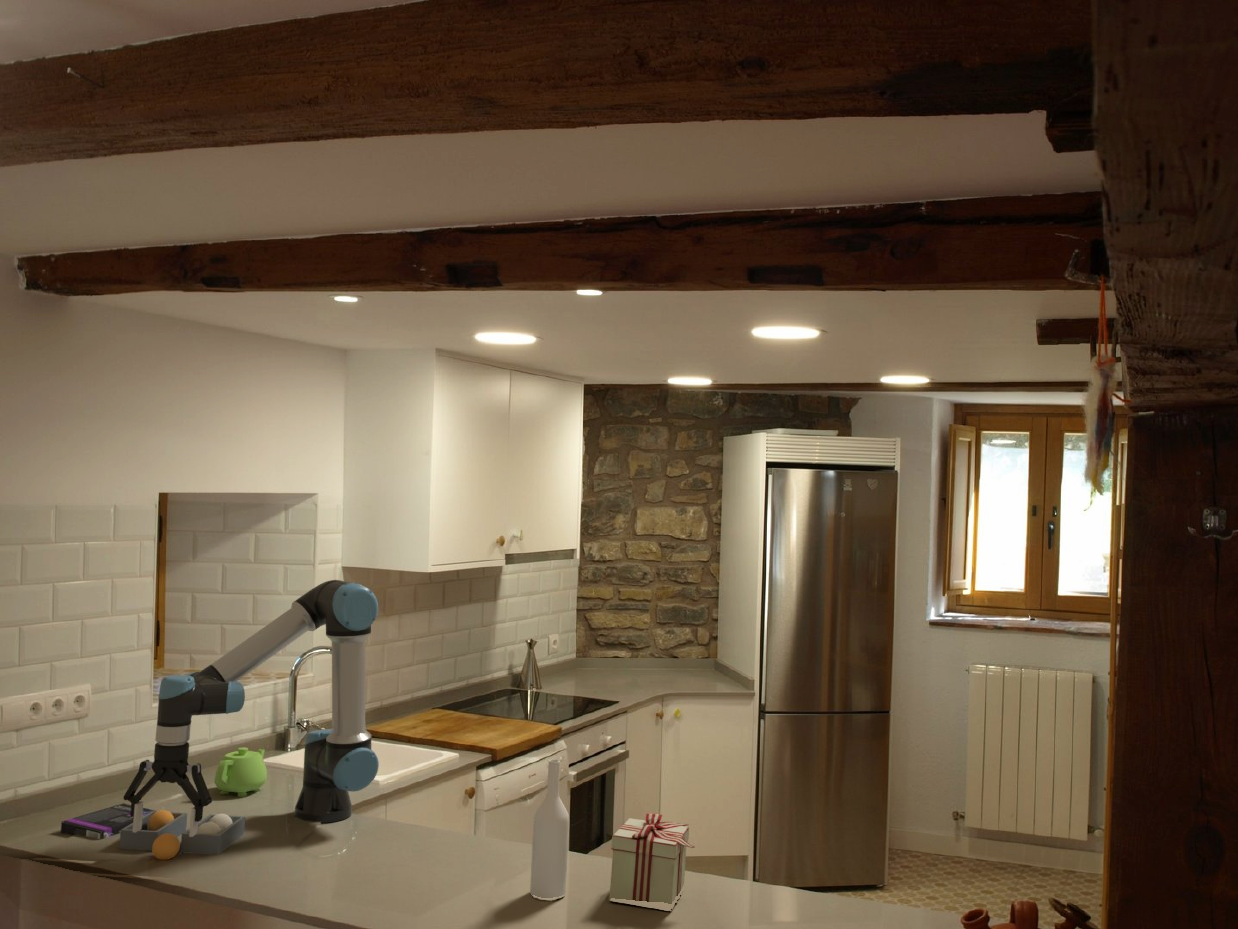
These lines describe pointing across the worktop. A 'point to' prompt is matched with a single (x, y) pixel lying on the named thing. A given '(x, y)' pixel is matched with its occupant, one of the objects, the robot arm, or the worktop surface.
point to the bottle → (550, 841)
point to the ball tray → (183, 835)
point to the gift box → (649, 860)
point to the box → (101, 822)
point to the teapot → (241, 772)
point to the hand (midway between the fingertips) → (165, 833)
